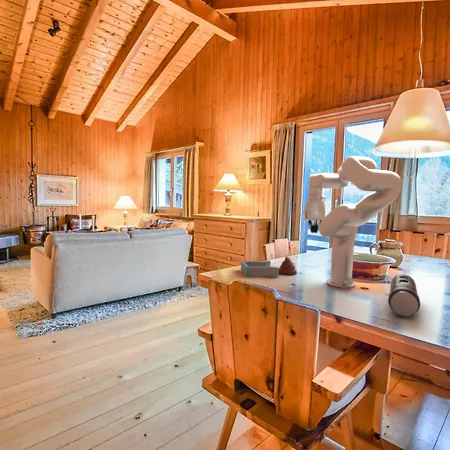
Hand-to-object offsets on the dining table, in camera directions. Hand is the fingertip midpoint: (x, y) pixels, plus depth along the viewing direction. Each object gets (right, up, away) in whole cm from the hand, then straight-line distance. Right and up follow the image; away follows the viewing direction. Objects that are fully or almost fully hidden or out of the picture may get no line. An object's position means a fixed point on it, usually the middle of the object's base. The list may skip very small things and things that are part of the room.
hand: (314, 232), depth 168 cm
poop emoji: (-14, -22, 0) cm, 27 cm away
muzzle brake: (+19, -27, -50) cm, 60 cm away
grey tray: (-30, -22, -2) cm, 37 cm away
